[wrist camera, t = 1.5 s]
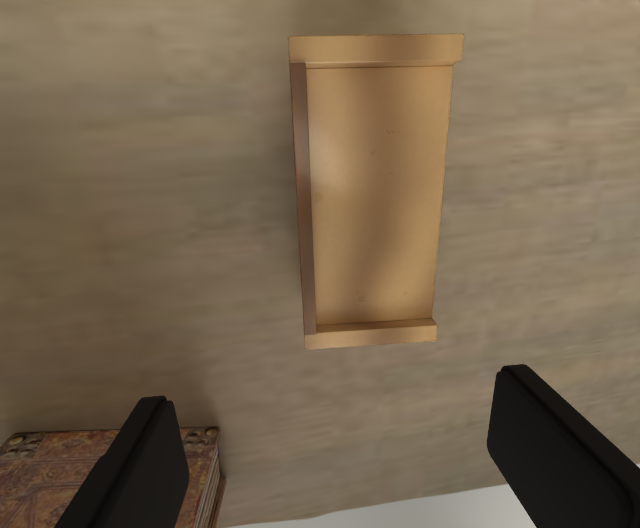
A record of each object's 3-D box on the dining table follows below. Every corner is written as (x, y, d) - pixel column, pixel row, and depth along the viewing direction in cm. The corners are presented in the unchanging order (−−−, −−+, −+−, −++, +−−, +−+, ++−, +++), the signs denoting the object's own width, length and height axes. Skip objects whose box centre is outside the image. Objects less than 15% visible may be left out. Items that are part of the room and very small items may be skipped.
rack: (302, 294, 38) (305, 351, 27) (291, 77, 31) (288, 34, 20) (397, 289, 38) (438, 343, 27) (407, 74, 31) (467, 31, 20)
